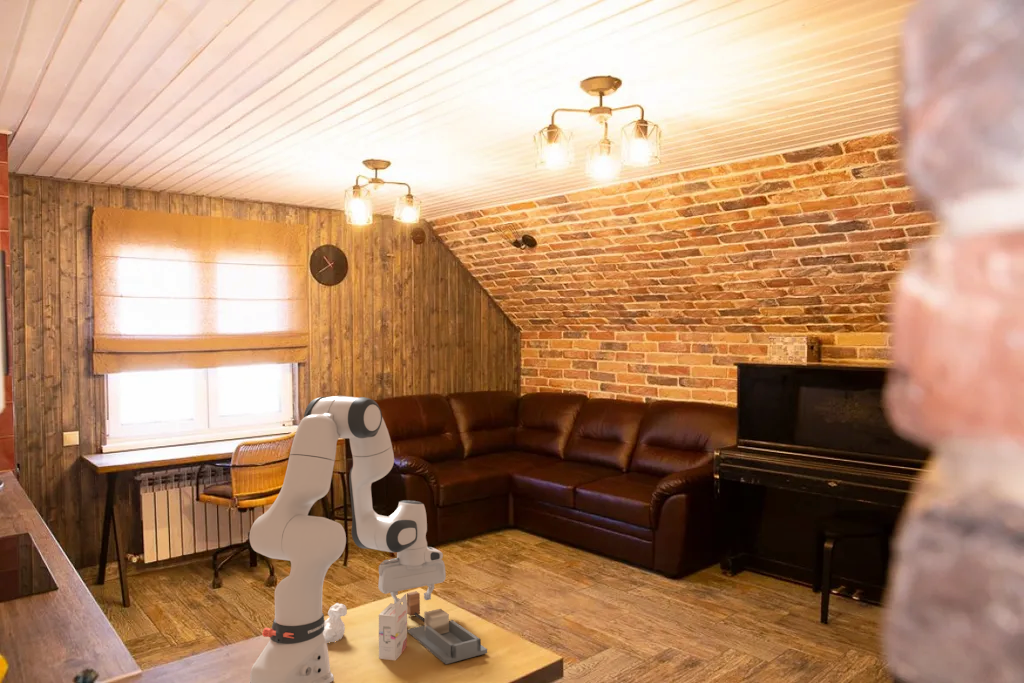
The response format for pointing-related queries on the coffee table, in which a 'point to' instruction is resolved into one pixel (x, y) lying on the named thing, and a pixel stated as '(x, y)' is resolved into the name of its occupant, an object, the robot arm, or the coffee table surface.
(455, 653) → the grey slotted base
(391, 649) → the ink cartridge box
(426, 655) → the coffee table surface
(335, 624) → the bust
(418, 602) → the block
